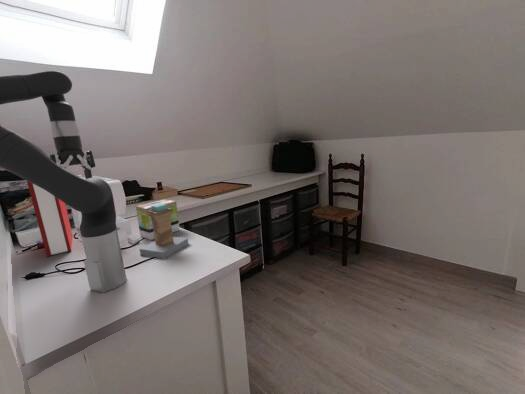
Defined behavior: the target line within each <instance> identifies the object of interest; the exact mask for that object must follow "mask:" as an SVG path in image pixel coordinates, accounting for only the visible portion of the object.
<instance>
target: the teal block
mask: <svg viewBox="0 0 525 394" xmlns="http://www.w3.org/2000/svg"><path fill="white" fill-rule="evenodd" d="M151 208H152V212H156V213H157V212H161V211H164V210H167V206H166V204H157V205H153V206H151Z"/></svg>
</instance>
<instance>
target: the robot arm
mask: <svg viewBox="0 0 525 394" xmlns="http://www.w3.org/2000/svg"><path fill="white" fill-rule="evenodd" d="M72 88H73V82H72V80H71V78H70V77H69V75H67V74H66V73H64V72H62V71H60V70H47V71H41V72H35V73H29V74H13V75H3V76H0V105H5V104H11V103H17V102H24V101H30V100H35V99H38V98H40V97H41V98H42V100H43V103H44V105H45V106H46V109H47V113H48V117H49V121H50V129H51V134H52V135H51V136H52V139H53V142H54V148H55V150H56V154H54V153H51V154H50V153H49V154H47V153H46V152H45V151H44V150H43V149H42V148H40V146H38V145H36V144H35V143H34V142H32V141H30V140H29V139H27V138H26V137H23V136H22V135H21V134H18V133H16V132H15V131H13V130H11V129H10V128H7V126H4V125H3V124H1V123H0V168H2V169H4V170H6V171H8V172H9V173H12V174H14V175H16V176H18V177H19V178H21V179H23V180H24V181H26V182H27V181H29V182H31V183H32V184H35V185H37V186H39V187H40V188H42V189H44V190H46V191H47V192H49V193H50V194H52V195H53V196H55V197H56V198H58V199H60V200H61V201H62V202H64V203H65V205H67V206H68V207H70V208H71V209H74V210H75V211H77V212H80V213H81V220H80V225H79V233H80V237H81V240H82V245H83V249H84V254H85V258H86V259H85V260H84V261H83V264H84V270H85V274H86V276H87V281H88V286H89V289H90V290H91V291H95V292H99V293H102V294H103V293H106V292H108V291H111V290H112V291H113V290H114V289H117V288H119V287H121V286H122V285H124V284H125V283H126V281H127V280H128V279H127V278H128V277H127V273H126V270H125V264H124V259H123V252H122V250H121V249H122V248H121V245H120V244H121V243H120V239H119V234H118V229H117V222H116V220H117V213H116V207H115V206H116V205H115V200H114V195H113V191H112V189H111V186H110V184H109V183H108V182H107V181H106V180H104V179H102V178H99V177H93V174H92V168H95V167H96V162H95V158H94V155H93V152H92V150H85V151H83V146H82V145H83V144H82V141H81V135H80V131H79V126H78V124H77V121H76V115H75V111H74V108H73V106H72V104H70V103H68V102H67V100H66V98H65V96H64V95H66V94H68V93H70V91H72ZM84 158H85V159H84ZM58 160H59V163H58V164H57V161H58ZM74 165H75V166H77V165H78V166H80V167H81V168H82V169H83V173H84V178H85V179H84V178H82V177H79V176H77V175H75V174H74V173H71V172H70V171H67V168H68V167H71V166H74Z"/></svg>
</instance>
